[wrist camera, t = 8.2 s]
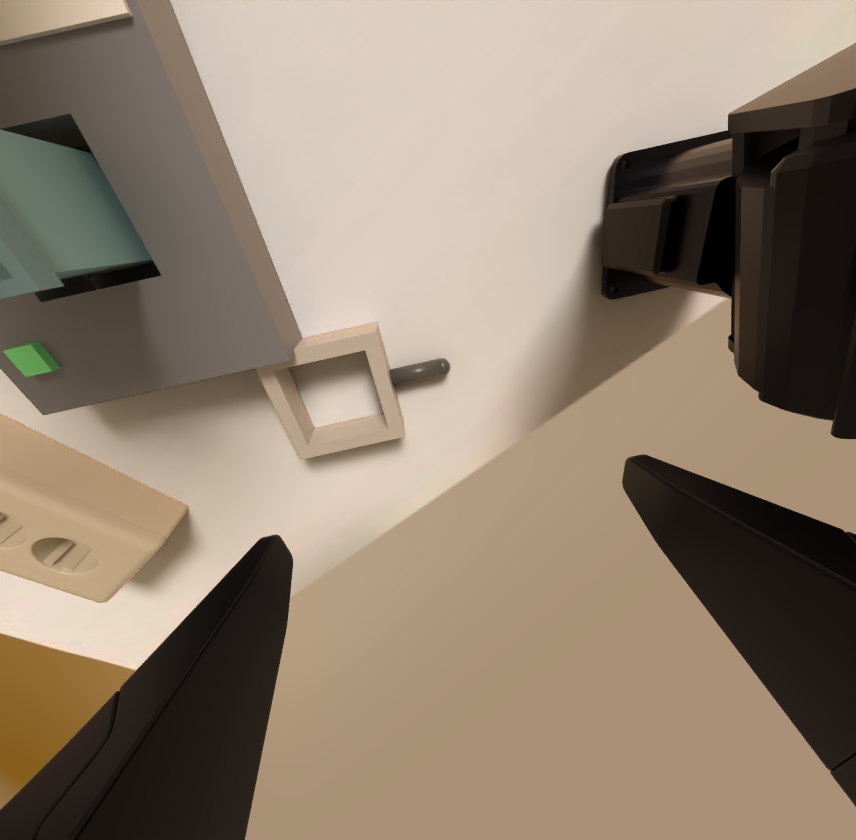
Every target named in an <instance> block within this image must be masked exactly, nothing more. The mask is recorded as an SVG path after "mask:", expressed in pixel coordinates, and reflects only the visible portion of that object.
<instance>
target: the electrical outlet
mask: <svg viewBox="0 0 856 840" xmlns="http://www.w3.org/2000/svg"><path fill="white" fill-rule="evenodd" d="M187 510H188V506H187V505H185V504H183V503H181V502H179V501H177V500H175V499H173V498H171V497H169V496H167V495H165V494H163V493H161V492H159V491H157V490H155V489H153V488H151V487H149V486H147V485H144V484H142V483H140V482H138V481H136V480H134V479H132V478H130V477H128V476H126V475H124V474H122V473H120V472H118V471H116V470H114V469H112V468H110V467H108V466H106V465H104V464H102V463H100V462H98V461H96V460H94V459H92V458H90V457H88V456H86V455H84V454H82V453H80V452H78V451H76V450H74V449H72V448H70V447H68V446H66V445H63V444H61V443H59V442H57V441H55V440H53V439H51V438H49V437H47V436H45V435H43V434H41V433H39V432H37V431H35V430H33V429H31V428H29V427H27V426H25V425H23V424H21V423H19V422H17V421H15V420H13V419H11V418H9V417H7V416H5V415H3V414H1V413H0V571H3V572H6V573H9V574H12V575H15V576H18V577H21V578H24V579H27V580H31V581H34V582H37V583H40V584H43V585H46V586H49V587H52V588H55V589H58V590H61V591H64V592H67V593H70V594H73V595H76V596H79V597H83V598H86V599H89V600H92V601H95V602H99V603H102V602H107V601H109V600H110V599H111V598H112V597H113V596H114V595H115V594H116V593H117V592H118V591H119V590H120V589H121V588H122V587H123V586H124V585H125V584H126V583H127V582H128V581H129V580H130V579H131V578H132V577H133V576H134V575H135V574H136V573H137V572H138V571H139V570H140V569H141V568H142V567H143V565H144V564H145V563H146V562H147V561H148V560H149V559H150V558H151V557H152V556H153V555H154V554H155V553H156V552H157V551H158V550H159V549H160V548H161V547H162V545H163V544H164V543H165V541H166V540H167V538H168V537H169V536H170V534H171V533H172V531H173V530H174V528H175V527H176V526H177V524H178V523H179V521H180V520H181V519H182V517H183V516H184V514H185V513H186V512H187Z"/></svg>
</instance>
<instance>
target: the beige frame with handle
mask: <svg viewBox="0 0 856 840" xmlns="http://www.w3.org/2000/svg"><path fill="white" fill-rule="evenodd" d="M364 350H365V352H366V355H367V358H368V362H369V365H370V368H371V372H372V375H373V378H374V382H375V385H376V388H377V392H378V395H379V398H380V402H381V405H382V409H383V412H384V413H382V414H378V415H373V416H369V417H364V418H360V419H355V420H351V421H346V422H342V423H337V424H332V425H328V426H323V427H319V428H314V426H313V424H312V422H311V419H310V417H309V415H308V412H307V410H306V408H305V406H304V403H303V401H302V399H301V396H300V394H299V392H298V390H297V387H296V385H295V383H294V380H293V378H292V376H291V374H290V371H289V369H288V367H292V366H297V365H301V364H306V363H310V362H315V361H319V360H324V359H328V358H333V357H337V356H342V355H346V354H351V353H355V352H360V351H364ZM294 352H295V355H294V356H293V357H292V359H291V360H290V361H286V362H281V363H277V364H272V365H268V366H263V367H259V368H255V370H256V372H257V374H258V376H259V378H260V380H261V382H262V384H263V386H264V388H265V390H266V392H267V394H268V396H269V398H270V400H271V402H272V404H273V406H274V408H275V410H276V412H277V414H278V416H279V418H280V420H281V422H282V425H283V427H284V429H285V431H286V433H287V435H288V437H289V439H290V441H291V443H292V445H293V447H294V449H295V451H296V453H297V455H298V457H299V459H300V460H302V459H306V458H311V457H315V456H320V455H324V454H329V453H334V452H338V451H343V450H347V449H352V448H356V447H361V446H365V445H370V444H374V443H379V442H383V441H388V440H392V439H397V438H401V437H405V432H404V421H403V417H402V413H401V409H400V405H399V402H398V398H397V394H396V390H395V387H394V386H399V385H403V384H408V383H412V382H417V381H421V380H426V379H430V378H435V377H439V376H444V375H446V374H447V373H448V372H449V370H450V364H449V362H448V361H447V360H446V359H442V358H441V359H436V360H431V361H427V362H422V363H418V364H413V365H409V366H404V367H400V368H395V369H391V370H390V368H389V364H388V360H387V357H386V353H385V349H384V345H383V342H382V338H381V334H380V330H379V327H378V323H377V322H375V323H370V324H366V325H361V326H357V327H352V328H347V329H343V330H338V331H334V332H329V333H325V334H320V335H316V336H311V337H307V338H302V340H301V341H300V342H299V344H298V345H297V346H296V348H295V349H294Z"/></svg>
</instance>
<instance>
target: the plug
mask: <svg viewBox="0 0 856 840" xmlns="http://www.w3.org/2000/svg"><path fill="white" fill-rule="evenodd" d="M151 262H154V261H153V259H152V258H151V256H150V254H149V252H148V251H147V249H146V247H145V245H144V243H143V242H142V240H141V238H140V236H139V235H138V233H137V231H136V229H135V227H134V226H133V224H132V222H131V220H130V218H129V217H128V215H127V213H126V211H125V210H124V208H123V206H122V204H121V202H120V201H119V199H118V197H117V195H116V194H115V192H114V190H113V188H112V186H111V185H110V183H109V181H108V179H107V178H106V176H105V174H104V172H103V170H102V169H101V167H100V165H99V163H98V161H97V160H96V158H95V156H94V154H93V153H89V152H85V151H81V150H77V149H73V148H69V147H66V146H62V145H58V144H54V143H50V142H46V141H42V140H39V139H35V138H31V137H27V136H23V135H19V134H15V133H12V132H8V131H4V130H0V300H3V299H8V298H12V297H17V296H21V295H26V294H30V293H35V292H39V291H44V290H48V289H53V288H57V287H62V286H64V285H63V283H62V282H61V280H62V279H68V278H75V277H81V276H88V275H94V274H101V273H106V272H111V271H115V270H120V269H124V268H129V267H133V266H138V265H142V264H147V263H151Z"/></svg>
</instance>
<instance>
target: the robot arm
mask: <svg viewBox="0 0 856 840" xmlns="http://www.w3.org/2000/svg"><path fill="white" fill-rule="evenodd" d="M623 162H625V163H626V169H625V171H624V172H622V171H621V165H622V163H623ZM602 264H603V277H602V290H601V292H602V295H603V297H605V298H607V299H618V298H622V297H627V296H631V295H636V294H640V293H645V292H649V291H654V290H658V289H663V288H667V287H676V288H681V289H686V290H691V291H696V292H701V293H706V294H711V295H716V296H721V297H726V298H731V299H732V306H731V308H732V309H731V310H732V311H731V316H732V317H731V335H730V336H729V337H728V348H729V350H731V351H732V352H733V353H734V362H735V365H736V369H737V373H738V376H740V377H741V378H742V379H743V380H744V381H745V382H746V383H747V384H749V385H750V386H751V387H752V388H753V389H755V390H757V391H758V392H759V394H758V396H759V399H760V400H761V401H763V402H765V403H768V404H770V405H773V406H775V407H778V408H780V409H783V410H786V411H789V412H792V413H797V414H801V415H805V416H809V417H813V418H817V419H824V420H831V421H833V425H832V429H831V434H832V435H833V436H834V437H836V438H840V439H856V43H855V44H853V45H851V46H849V47H848V48H846V49H844V50H842V51H840V52H839V53H837V54H835V55H833V56H831V57H830V58H828V59H826V60H824V61H822V62H821V63H819V64H817V65H815V66H813V67H812V68H810V69H808V70H806V71H804V72H803V73H801V74H799V75H797V76H795V77H794V78H792V79H790V80H788V81H786V82H785V83H783V84H781V85H779V86H778V87H776V88H774V89H772V90H770V91H769V92H767V93H765V94H763V95H761V96H760V97H758V98H756V99H754V100H752V101H751V102H749V103H747V104H745V105H743V106H742V107H740V108H738V109H736V110H734V111H733V112H731V113H729V114H728V131H723V132H719V133H714V134H710V135H705V136H701V137H696V138H692V139H687V140H683V141H678V142H674V143H669V144H665V145H660V146H656V147H651V148H647V149H642V150H638V151H633V152H629V153H625V154H622V155H620V156H618V157H617V158H616V159H615V160H614V162H613V164H612V166H611V172H610V185H609V198H608V207H607V209H606V211H605V221H604V235H603V249H602ZM612 286H615V289H614V291H613V292H612V293H610V289H611V287H612ZM622 483H623V488H624V490H625V492H626V494H627V495H628V497H629V499H630V500H631V502H632V503H633V505H634V507H635V509H636V510H637V512H638V514H639V515H640V517H641V519H642V520H643V522H644V523H645V525H646V527H647V528H648V530H649V532H650V533H651V535H652V536H653V538H654V540H655V541H656V543H657V544H658V546H659V547H660V548H661V550H662V551H663V552H664V554H665V555H666V556H667V558H668V559H669V560H670V562H671V563H672V564H673V566H674V567H675V568H676V569H677V571H678V572H679V573H680V575H681V576H682V577H683V579H684V580H685V581H686V583H687V584H688V585H689V587H690V588H691V589H692V590H693V592H694V593H695V595H696V596H697V597H698V598H699V600H700V601H701V603H702V604H703V605H704V606H705V608H706V609H707V610H708V612H709V613H710V614H711V616H712V617H713V618H714V620H715V621H716V622H717V624H718V625H719V626H720V628H721V629H722V630H723V632H724V633H725V634H726V636H727V637H728V638H729V639H730V641H731V642H732V643H733V645H734V646H735V647H736V649H737V650H738V651H739V653H740V654H741V655H742V657H743V658H744V659H745V661H746V662H747V663H748V664H749V666H750V667H751V669H752V670H753V671H754V673H755V674H756V675H757V676H758V678H759V679H760V680H761V682H762V683H763V684H764V686H765V687H766V688H767V690H768V691H769V692H770V694H771V695H772V696H773V698H774V699H775V700H776V702H777V703H778V704H779V706H780V707H781V708H782V710H783V711H784V712H785V713H786V715H787V716H788V717H789V719H790V720H791V721H792V723H793V724H794V725H795V727H796V728H797V729H798V731H799V732H800V733H801V735H802V736H803V737H804V739H805V740H806V741H807V743H808V744H809V745H810V746H811V748H812V749H813V750H814V752H815V753H816V754H817V756H818V757H819V758H820V760H821V761H822V762H823V764H824V765H825V766H826V768H827V769H829V770H831V771H830V773H831V775H832V776H833V777H834V779H835V780H836V781H837V783H838V784H839V785H840V787H841V788H842V789H843V791H844V792H845V793H846V794H847V796H848V797H849V798H850V800H851V801H852V802H853V804H854V805H855V806H856V534H853V533H850V532H844V531H843V530H842V529H840V528H837V527H834V526H832V525H829V524H826V523H824V522H821V521H819V520H816V519H813V518H811V517H808V516H806V515H803V514H800V513H798V512H795V511H792V510H790V509H787V508H785V507H782V506H779V505H777V504H773V503H771V502H769V501H766V500H763V499H761V498H758V497H756V496H753V495H750V494H748V493H745V492H742V491H740V490H737V489H735V488H732V487H729V486H727V485H724V484H721V483H718V482H716V481H713V480H711V479H708V478H705V477H703V476H700V475H697V474H695V473H692V472H690V471H687V470H685V469H682V468H679V467H677V466H674V465H671V464H669V463H666V462H663V461H661V460H658V459H656V458H653V457H650V456H648V455H638V456H633V457H629V458H627V460H626V461H625V467H624V474H623V481H622ZM292 569H293V558H292V555H291V553H290V551H289V549H288V548H287V546H286V545H285V543H284V541H283V540H282V538H281V537H280V536H279V535H271V536H267V537H263V538H261V539H260V540H258V541H257V543H256V544H255V545H254V546H253V547H252V548H251V549H250V550H249V551H248V552H247V553H246V554H245V555H244V556H243V557H242V559H241V560H240V561H239V562H238V563H237V564H236V565H235V566H234V567H233V568H232V569H231V570H230V571H229V572H228V573H227V574H226V576H225V577H224V578H223V579H222V580H221V581H220V582H219V583H218V584H217V585H216V586H215V587H214V588H213V589H212V590H211V592H210V593H209V594H208V595H207V596H206V597H205V598H204V599H203V600H202V601H201V602H200V603H199V604H198V605H197V606H196V608H195V609H194V610H193V611H192V612H191V613H190V614H189V615H188V616H187V617H186V618H185V619H184V620H183V621H182V622H181V623H180V625H179V626H178V627H177V628H176V629H175V630H174V631H173V632H172V633H171V634H170V635H169V636H168V637H167V638H166V639H165V641H164V642H163V643H162V644H161V645H160V646H159V647H158V648H157V649H156V650H155V651H154V652H153V653H152V654H151V655H150V656H149V658H148V659H147V660H146V661H145V662H144V663H143V664H142V665H141V666H140V667H139V668H138V669H137V670H136V672H135V673H134V674H133V675H132V676H131V677H130V678H129V679H128V680H127V681H126V682H125V683H124V684H123V685H122V686H121V688H120V691H117V692H116V693H115V694H114V695H113V696H112V697H111V698H110V699H109V700H108V701H107V702H106V703H105V704H104V705H103V706H102V707H101V709H100V710H99V711H98V712H97V713H96V714H95V715H94V716H93V717H92V718H91V719H90V720H89V721H88V723H86V724H85V725H84V726H83V727H82V728H81V729H80V730H79V732H78V733H77V734H76V735H75V736H74V737H73V738H72V739H71V740H70V741H69V742H68V743H67V744H66V745H65V746H64V747H63V748H62V750H60V751H59V752H58V753H57V754H56V755H55V756H54V757H53V758H52V759H51V760H50V761H49V762H48V763H47V764H46V765H45V766H44V767H43V768H42V769H41V770H40V771H39V772H38V773H37V774H36V775H35V776H34V777H33V778H32V779H31V780H30V781H29V782H28V783H27V784H26V785H25V786H24V787H23V788H22V789H21V790H20V791H19V792H18V793H17V794H16V795H15V796H14V797H13V798H12V799H11V800H10V801H9V802H8V803H7V804H6V805H5V806H4V807H3V808H2V809H1V810H0V840H245V836H246V831H247V825H248V820H249V815H250V811H251V806H252V800H253V795H254V790H255V785H256V781H257V775H258V770H259V765H260V760H261V755H262V750H263V745H264V740H265V735H266V730H267V724H268V720H269V715H270V710H271V704H272V700H273V695H274V689H275V684H276V679H277V674H278V669H279V664H280V659H281V654H282V649H283V644H284V638H285V634H286V628H287V621H288V612H289V601H290V591H291V580H292Z"/></svg>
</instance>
